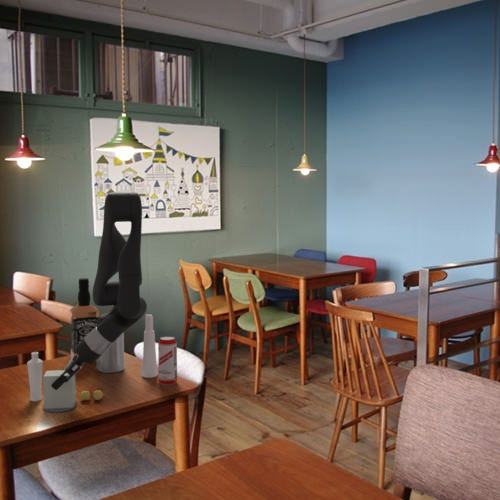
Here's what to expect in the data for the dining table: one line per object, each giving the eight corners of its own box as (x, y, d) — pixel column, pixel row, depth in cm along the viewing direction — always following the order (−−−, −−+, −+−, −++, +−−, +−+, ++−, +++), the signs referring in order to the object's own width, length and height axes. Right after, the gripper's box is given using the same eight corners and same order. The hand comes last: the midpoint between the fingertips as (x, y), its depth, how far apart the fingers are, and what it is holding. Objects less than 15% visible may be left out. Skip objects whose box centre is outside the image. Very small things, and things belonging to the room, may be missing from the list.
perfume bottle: (47, 397, 180) (45, 351, 179) (38, 402, 176) (36, 355, 175) (35, 395, 182) (34, 350, 180) (25, 400, 178) (24, 353, 176)
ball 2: (90, 400, 179) (90, 390, 178) (98, 397, 181) (97, 388, 181) (97, 402, 177) (97, 392, 177) (104, 399, 179) (104, 389, 179)
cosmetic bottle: (143, 372, 206) (142, 312, 204) (159, 372, 206) (159, 313, 203) (139, 377, 200) (138, 316, 198) (156, 378, 200) (155, 316, 197)
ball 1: (78, 400, 178) (78, 391, 178) (85, 397, 181) (85, 388, 180) (85, 402, 176) (84, 393, 176) (92, 399, 179) (92, 390, 179)
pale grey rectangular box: (44, 408, 170) (43, 376, 169) (47, 402, 175) (46, 370, 174) (73, 407, 171) (72, 375, 170) (75, 400, 176) (75, 369, 175)
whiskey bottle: (73, 365, 214) (71, 281, 210) (70, 357, 223) (68, 277, 219) (101, 361, 218) (99, 279, 214) (97, 354, 227) (95, 275, 223)
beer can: (173, 387, 191) (173, 340, 189) (155, 385, 192) (155, 339, 190) (179, 381, 197) (179, 336, 195) (162, 379, 198) (162, 334, 196)
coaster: (39, 413, 168) (39, 411, 168) (46, 400, 177) (46, 399, 177) (74, 411, 169) (74, 410, 169) (79, 399, 179) (79, 398, 179)
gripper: (88, 331, 179) (52, 367, 179) (81, 343, 165) (41, 382, 165) (106, 346, 180) (69, 383, 180) (100, 360, 166) (61, 399, 166)
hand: (56, 382), depth 172 cm, fingers open, 8 cm apart
